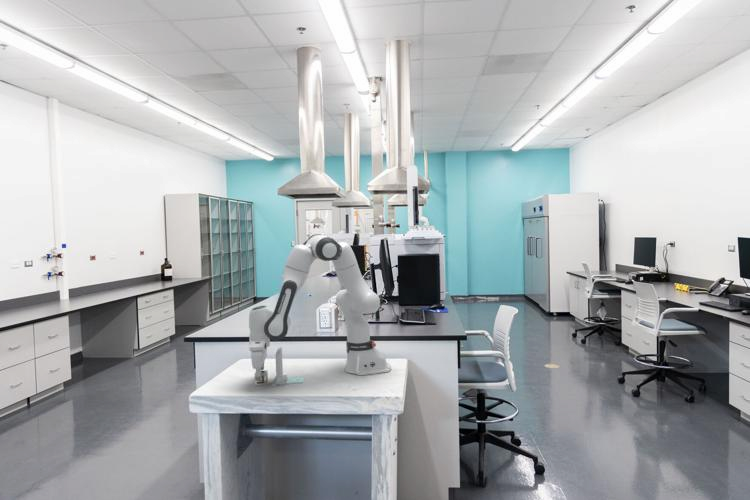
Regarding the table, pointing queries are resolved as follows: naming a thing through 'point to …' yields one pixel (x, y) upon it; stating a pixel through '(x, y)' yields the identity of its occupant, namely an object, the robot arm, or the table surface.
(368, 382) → the table surface
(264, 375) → the letter cube
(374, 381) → the table surface
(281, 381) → the screen
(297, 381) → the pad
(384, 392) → the table surface
